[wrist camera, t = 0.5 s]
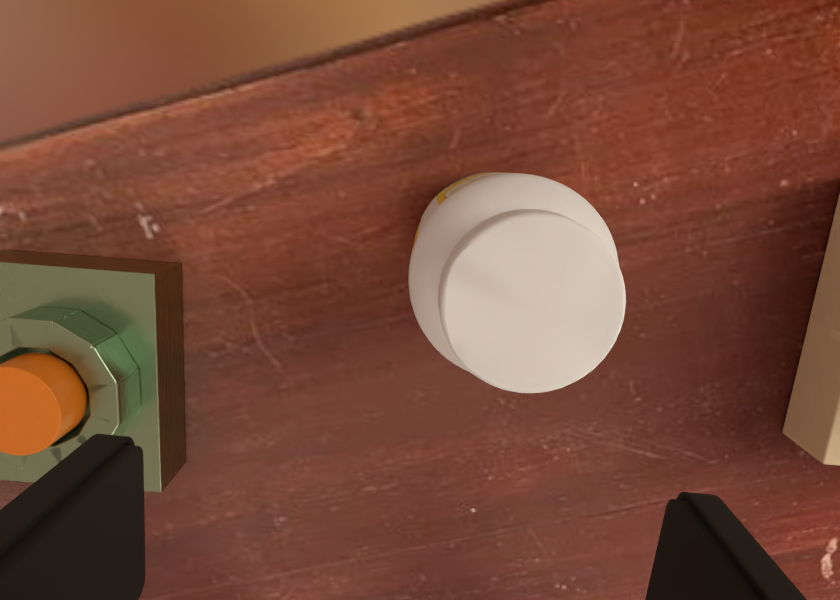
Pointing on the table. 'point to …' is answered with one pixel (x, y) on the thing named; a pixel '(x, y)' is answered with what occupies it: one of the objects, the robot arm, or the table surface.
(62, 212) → the table surface
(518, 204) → the pill bottle
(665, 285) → the table surface
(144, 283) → the control block
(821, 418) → the panel
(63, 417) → the button
